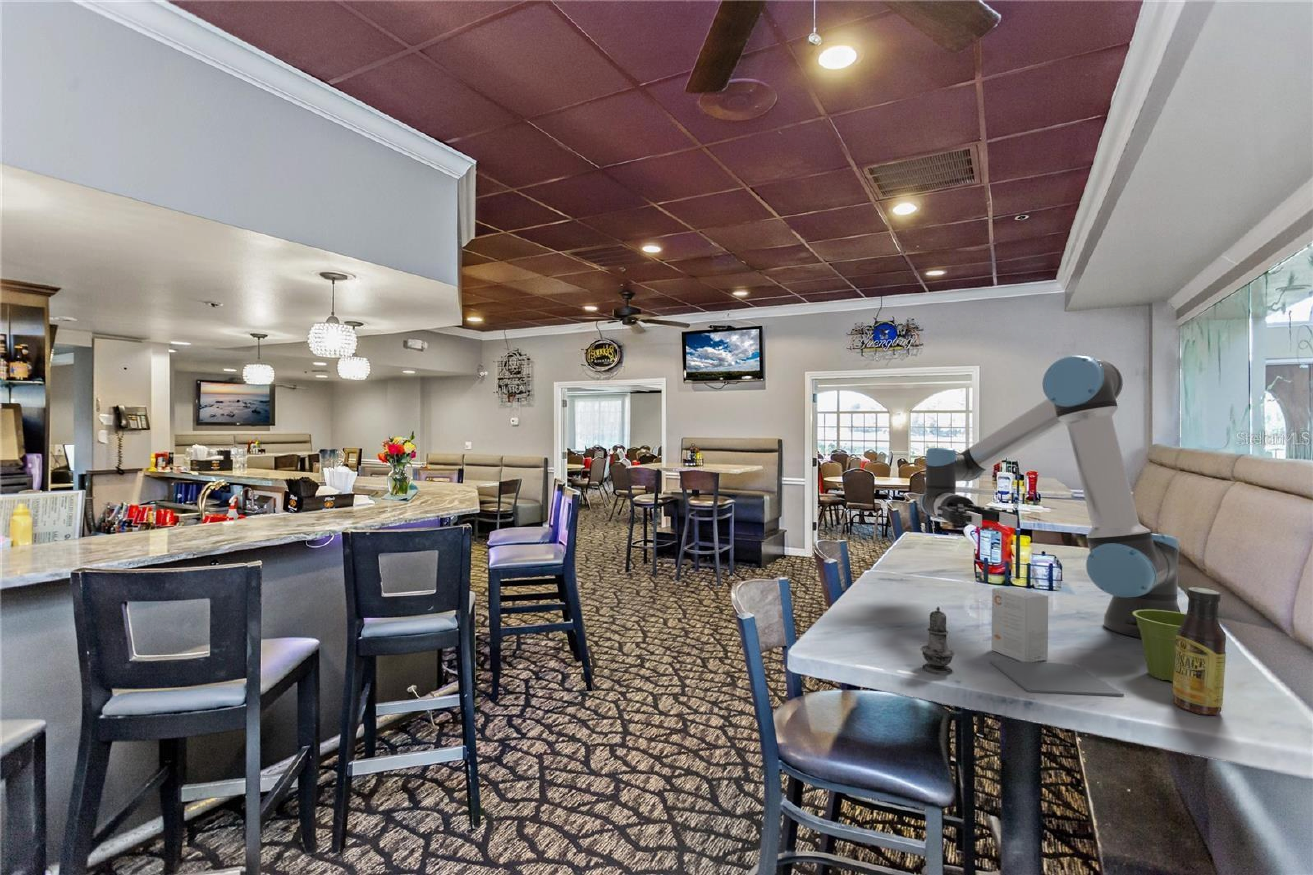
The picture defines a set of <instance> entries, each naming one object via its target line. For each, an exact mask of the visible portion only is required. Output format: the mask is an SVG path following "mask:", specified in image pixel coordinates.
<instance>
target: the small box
mask: <svg viewBox="0 0 1313 875" xmlns="http://www.w3.org/2000/svg"><path fill="white" fill-rule="evenodd" d="M991 592H992V594H991V598H992V599H991V645H990V646H991V651H994V652H995V653H999V654H1001V655H1003V656H1006V657H1009V658H1011V659H1013V660H1017V661H1018V662H1042V661H1047V660H1048V659H1049V657H1048V656H1049V653H1048V652H1049V650H1048V649H1049V595H1048V594H1047V595H1046V594H1042V593H1038V592H1034V591H1032V590H1027V589H1024V588H1020V587H1016V586H1007V587H995V588H992V591H991Z"/></svg>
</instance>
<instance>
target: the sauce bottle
mask: <svg viewBox="0 0 1313 875" xmlns="http://www.w3.org/2000/svg"><path fill="white" fill-rule="evenodd" d="M1186 594H1187V595H1186V596H1187V598H1188V599H1187V600H1188V601H1187V610H1186V613H1185V614H1186V616H1185V618H1184V620H1183V622H1182V624H1181V626H1180V628H1179V630H1178V633H1177V635H1176V643H1175V644H1176V645H1175V659H1174V676H1173V682H1172V701H1173V703H1174V704H1175V705H1176V706H1177V707H1180V709H1184V710H1187V711H1189V712H1191V713H1194V714H1198V715H1206V716H1216V715H1217V716H1218V715H1219V714H1220V713H1221V712H1222V706H1223V702H1224V700H1223V699H1224V688H1225V686H1224V684H1225V672H1226V670H1225V669H1226V659H1227V658H1226V656H1227V655H1226V654H1227V652H1226V642H1227V636H1226V635H1227V634H1226V632H1225V631H1224V629H1223V628H1222V626H1221V625H1220V623H1219V617H1220V616H1219V615H1218V613H1219V603H1220V601H1221V592H1219V591H1216V590H1214V589H1210V588H1203V587H1195V586H1194V587H1188V588H1187V593H1186Z"/></svg>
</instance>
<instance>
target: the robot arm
mask: <svg viewBox="0 0 1313 875" xmlns="http://www.w3.org/2000/svg"><path fill="white" fill-rule="evenodd" d="M1123 384H1124V382H1123V376H1122V374H1121V372H1120V370H1119V369H1118V368H1117V367H1116V366H1115V365H1114V364H1112V363H1110V362H1108V361H1105V360H1102V359H1095V358H1093V357H1092V356H1087V355H1070V356H1065V357H1062V358H1060V359H1057V360H1056V361H1055V362H1053V363H1052V364H1051V365H1050V366H1049V367H1048V368H1047V370H1046V371H1045V373H1044V375H1043V378H1042V382H1041V385H1042V389H1043V390H1042V391H1043V393H1044V395H1045V397H1046V398H1047V399H1044V400H1043V401H1042V402H1040V403H1038V404H1037V405H1035V406H1033V407H1032V408H1030V409H1029V410H1027V411H1026V412H1024V413H1022V414H1021V415H1019V416H1018V417H1016V418H1015V419H1013V420H1011V421H1010V422H1008V423H1007V424H1005V425H1004V426H1002V427H1000V428H998V429H997V430H996V431H993V432H992V433H991V434H989V435H987V436H986V437H984V438H983V439H981V440H979V441H977V442H976V443H975V444H973V445H971V446H970V447H969V448H967V449H965V450H963V451H961V452H960V453H959V454H957V450H956V449H955V448H952V447H950V448H949V447H929V448H928V449H927V450H926V456H925V489H924V490H925V491H924V493H923V494H922V495H921V496H920V502H919V504H920V508H921V509H922V511H923V512H924V514H926V515H928V516H930V517H931V518H934V519H939V520H941V521H944V522H947V524H948V525H955V526H966V525H971V526H974V527H977V528H983V522H984V521H988V522H994V523H998V524H999V525H1001V526H1005V527H1008V528H1012V529H1018V515H1016V514H1014V512H1013V511H1008V509H1005V508H1003V509H998V508H994V507H991V506H990V507H987V508H985V507H984V506H980V505H979V506H978V505H977V504H975V503H974V502H973V500H971V499H970V498H968V497H967V496H963V495H959V494H956V488H957V486H956V484H957V482H971V481H974V480H977V479H979V478H981V477H982V475H984V472H985V471H987V470H988V469H990V468H992V467H994V466H995V465H997V464H999V463H1000V462H1003V461H1004V460H1005V459H1008V458H1009V457H1011V456H1013V455H1014V454H1016V453H1018V452H1020V451H1021V450H1022V449H1023V450H1024V448H1026V447H1028V446H1030V445H1031V444H1033V443H1035V442H1036V441H1037V442H1038V441H1039V440H1040V439H1041V438H1044V437H1045V436H1047V435H1048V434H1051V433H1052V432H1054V431H1056V430H1057V429H1059V428H1061V427H1063V426H1064V425H1066V426H1067V431H1068V436H1069V438H1070V443H1071V447H1072V451H1073V455H1074V458H1075V463H1076V467H1077V470H1078V471H1077V473H1078V476H1079V479H1080V484H1081V488H1082V491H1083V496H1084V500H1085V504H1086V508H1087V512H1088V516H1089V521H1090V524H1091V529H1090V530H1089V532H1088V533H1087V534H1086V541H1087V546H1088V550H1089V554H1088V555H1087V559H1086V563H1085V567H1086V568H1085V569H1086V573H1087V576H1088V577H1089V579H1090V580H1091V582H1092V583H1093V584H1094V586H1096V588H1098V589H1100V590H1101V591H1102V592H1104V593H1106V594H1109V595H1110V596H1112V597H1111V599H1110V601H1109V603H1108V606H1107V607H1106V608H1107V609H1106V611H1105V613H1104V616H1103V626H1104V627H1105V628H1107V629H1109V630H1111V631H1113V632H1115V633H1119V634H1122V635H1125V636H1129V637H1133V636H1134V638H1139V639H1142V638H1141V633H1140V629H1139V628H1138V624H1137V619H1136V617H1135V616H1134V615H1133V612H1134V611H1137V610H1163V611H1172V612H1178V613H1182V612H1181V609H1180V607H1179V606H1180V605H1179V604H1178V587H1179V586H1178V583H1179V577H1178V576H1179V554H1180V548H1179V541H1178V539H1177V538H1176V537H1175V536H1173V535H1167V534H1157V533H1152V532H1151V529H1149V528H1147V527H1146V526H1144V525H1142V523H1140V520H1139V516H1138V513H1137V509H1136V505H1135V501H1134V497H1133V492H1132V489H1131V485H1130V482H1129V477H1128V474H1127V470H1126V466H1125V463H1124V458H1123V454H1122V450H1121V447H1120V443H1119V441H1118V440H1119V439H1118V436H1117V432H1116V428H1115V424H1114V420H1113V416H1114V414H1115V413H1116V412H1117V411H1118V409H1119V407H1118V403H1117V398H1118V397H1119V396H1120V394H1121V392H1122V389H1123Z"/></svg>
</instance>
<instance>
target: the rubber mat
mask: <svg viewBox="0 0 1313 875" xmlns="http://www.w3.org/2000/svg"><path fill="white" fill-rule="evenodd" d="M989 663H990V664H992V666H994V667H996V668H997V669H998V670H999V671H1000V672H1001V673H1003V674H1004V675H1005V676H1006V677H1008V678H1009V679H1010V680H1012V681H1013V682H1015V683H1016V684H1017V685H1018V686H1020V688H1022V689H1023V690H1024V691H1026V692H1027V693H1042V694H1044V693H1045V694H1047V693H1048V694H1065V695H1067V694H1068V695H1086V696H1087V695H1088V696H1089V695H1091V696H1108V697H1110V696H1112V697H1125V693H1123V692H1122V691H1120V690H1119V689H1117V688H1115V687H1113V686H1111V685H1110V684H1109V683H1107V682H1105V681H1104V680H1102V679H1100V678H1098V677H1097V676H1096V675H1094V674H1092V673H1090V672H1089V671H1087V670H1085V669H1084V668H1083V667H1081V666H1079V665H1077V664H1075V663H1063V662H1059V663H1058V662H1042V661H1037V662H1021V661H1019V660H1017V661H1013V660H992V659H991V660H989Z"/></svg>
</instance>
